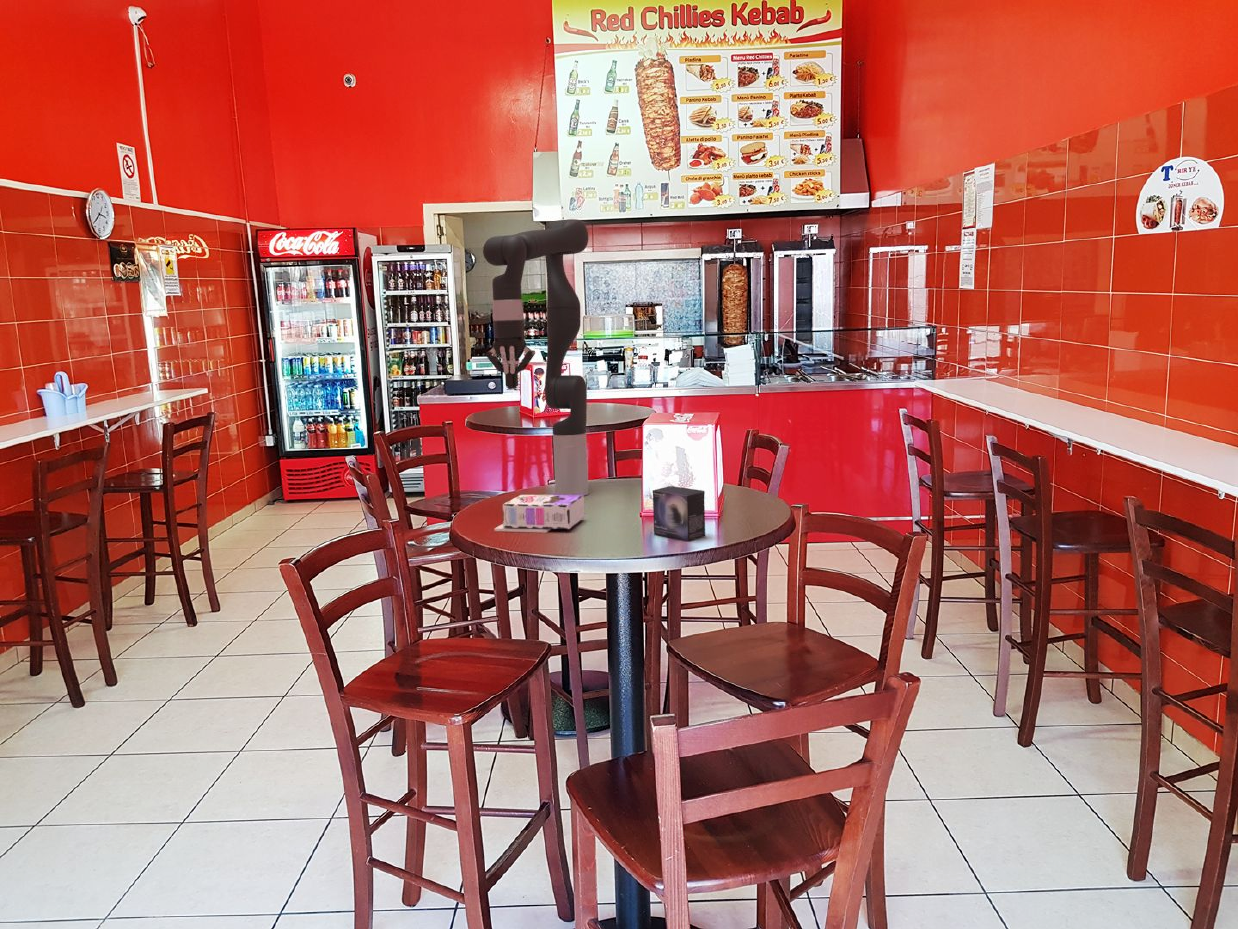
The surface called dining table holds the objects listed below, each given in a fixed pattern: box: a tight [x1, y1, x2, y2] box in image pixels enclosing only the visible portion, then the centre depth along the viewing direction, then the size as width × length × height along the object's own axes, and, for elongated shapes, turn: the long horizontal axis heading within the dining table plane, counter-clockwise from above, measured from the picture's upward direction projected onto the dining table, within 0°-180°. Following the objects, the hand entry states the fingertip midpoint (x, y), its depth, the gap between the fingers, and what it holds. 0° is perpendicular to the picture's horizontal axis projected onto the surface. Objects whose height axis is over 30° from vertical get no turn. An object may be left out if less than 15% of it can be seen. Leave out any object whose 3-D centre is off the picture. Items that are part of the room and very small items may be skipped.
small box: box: [652, 485, 706, 542], centre depth 214 cm, size 11×6×10 cm, turn 45°
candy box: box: [502, 494, 586, 530], centre depth 229 cm, size 14×6×16 cm
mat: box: [494, 523, 553, 534], centre depth 231 cm, size 16×13×1 cm
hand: (512, 388), depth 240 cm, fingers closed
